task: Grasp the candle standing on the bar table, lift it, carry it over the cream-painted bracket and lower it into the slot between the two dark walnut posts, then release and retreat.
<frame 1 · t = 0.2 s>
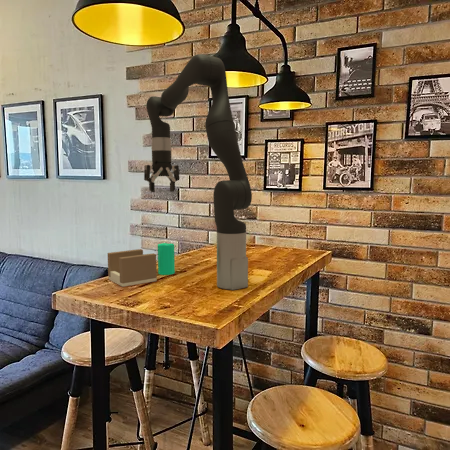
hand: (162, 191, 162), 28 cm above the table, fingers open, 8 cm apart
candle: (166, 273, 148), on the table
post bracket: (132, 279, 139), on the table
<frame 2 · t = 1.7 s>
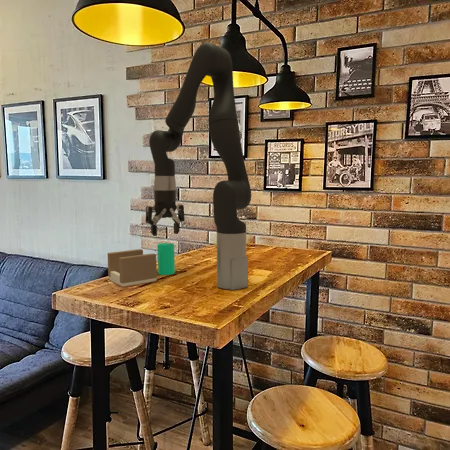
hand: (165, 234, 147), 14 cm above the table, fingers open, 8 cm apart
nothing on the table moved.
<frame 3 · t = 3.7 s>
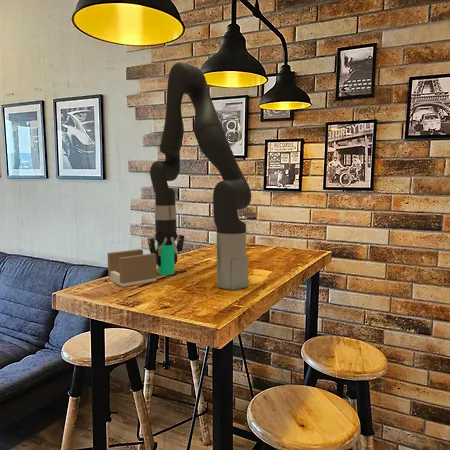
hand: (166, 264, 148), 3 cm above the table, fingers closed on candle, 5 cm apart
candle: (166, 273, 148), on the table, touching gripper
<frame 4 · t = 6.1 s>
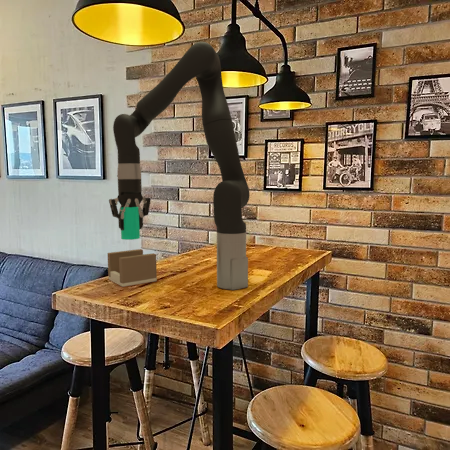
hand: (131, 229, 137), 17 cm above the table, fingers closed on candle, 5 cm apart
candle: (130, 238, 137), point 14 cm above the table, touching gripper
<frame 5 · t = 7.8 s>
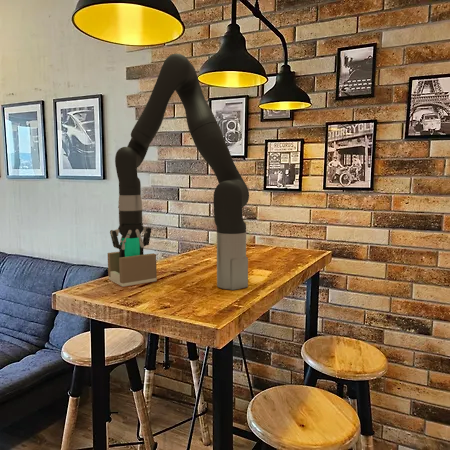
hand: (131, 259, 138), 7 cm above the table, fingers closed on candle, 5 cm apart
candle: (131, 268, 138), point 4 cm above the table, touching gripper
when the fingers open (6 cm above the table, at t = 9.0 s): candle drops 2 cm, resting on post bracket.
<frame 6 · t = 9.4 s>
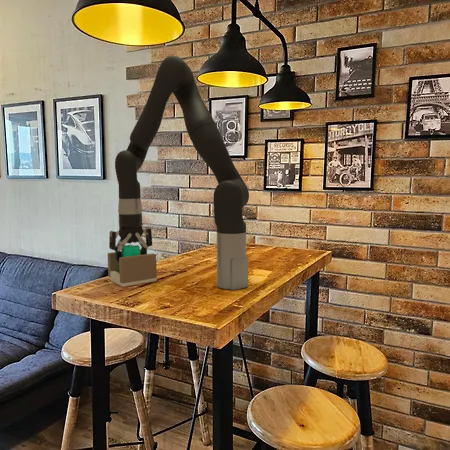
hand: (131, 260, 138), 7 cm above the table, fingers open, 8 cm apart
candle: (131, 277, 138), point 1 cm above the table, touching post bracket
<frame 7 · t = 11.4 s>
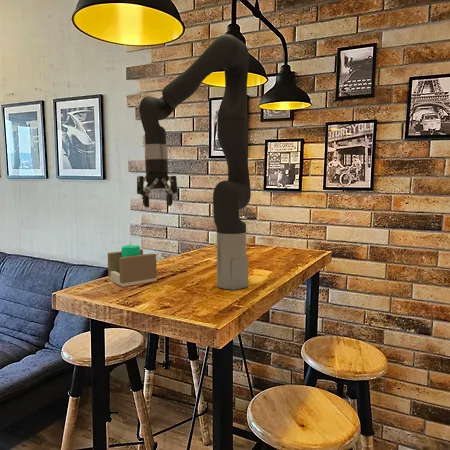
hand: (158, 206, 141), 24 cm above the table, fingers open, 8 cm apart
nothing on the table moved.
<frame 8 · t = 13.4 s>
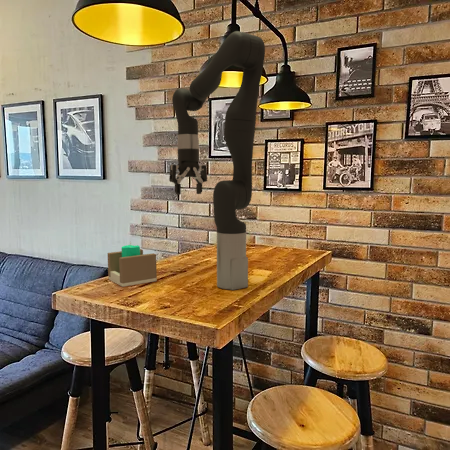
hand: (188, 194, 147), 28 cm above the table, fingers open, 8 cm apart
nothing on the table moved.
at the end: candle 0.2 cm off-centre on the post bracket, point 0.8 cm above the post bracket's base; candle tilted 0°; the gripper is holding nothing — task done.
